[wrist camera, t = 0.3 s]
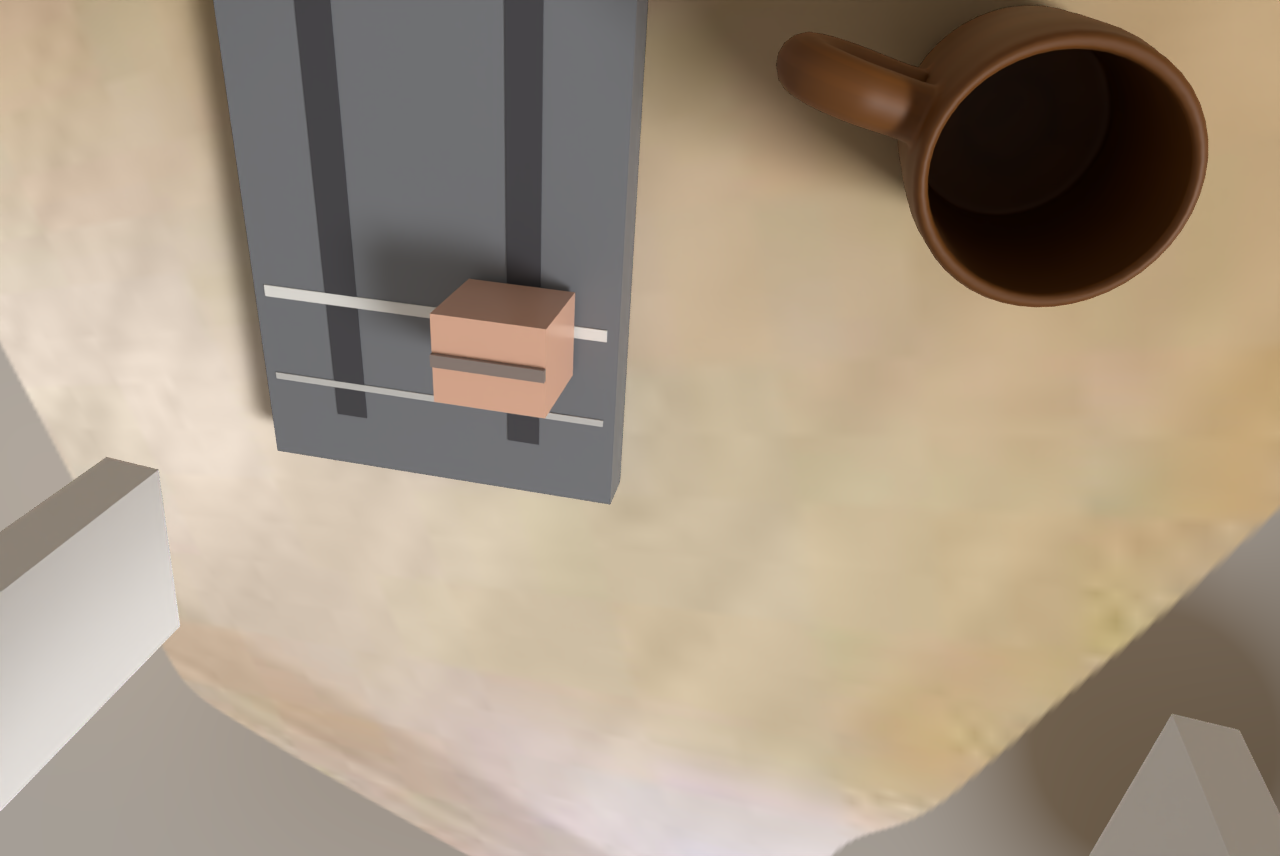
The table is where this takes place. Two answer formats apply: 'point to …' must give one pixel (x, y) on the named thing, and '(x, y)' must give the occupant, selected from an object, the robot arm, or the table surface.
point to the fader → (502, 347)
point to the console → (437, 217)
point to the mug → (1026, 146)
